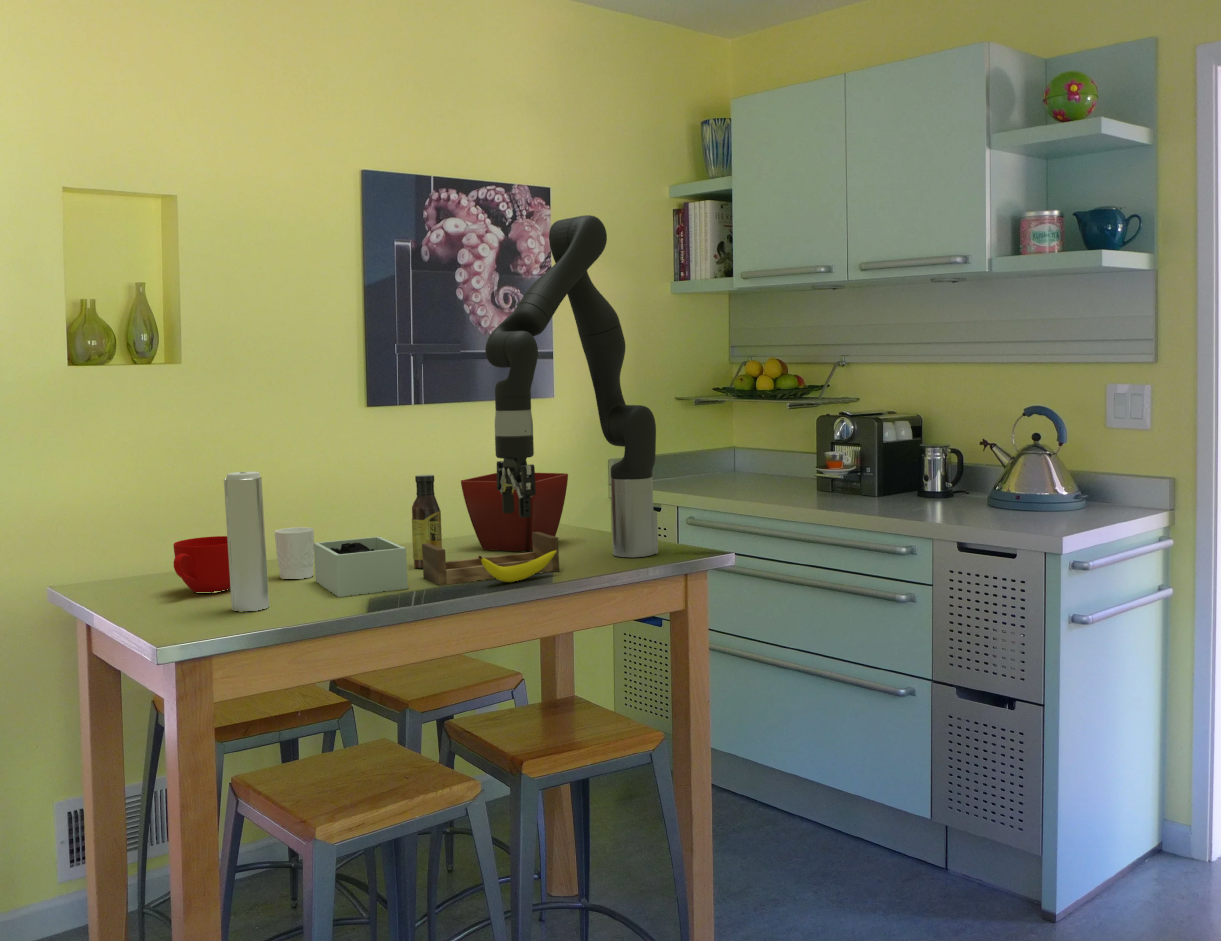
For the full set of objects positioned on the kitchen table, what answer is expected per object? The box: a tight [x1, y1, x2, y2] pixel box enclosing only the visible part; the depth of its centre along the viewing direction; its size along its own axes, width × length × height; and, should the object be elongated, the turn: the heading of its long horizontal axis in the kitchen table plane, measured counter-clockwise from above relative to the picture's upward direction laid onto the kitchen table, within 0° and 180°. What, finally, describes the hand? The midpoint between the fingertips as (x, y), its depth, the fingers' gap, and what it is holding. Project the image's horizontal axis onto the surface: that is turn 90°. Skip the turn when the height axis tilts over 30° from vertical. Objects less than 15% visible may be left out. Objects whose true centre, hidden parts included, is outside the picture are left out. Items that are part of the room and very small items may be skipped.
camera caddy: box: [314, 536, 409, 598], centre depth 224 cm, size 14×19×8 cm
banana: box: [477, 550, 557, 584], centre depth 224 cm, size 3×19×6 cm, turn 131°
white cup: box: [274, 526, 315, 580], centre depth 235 cm, size 8×8×10 cm
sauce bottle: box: [411, 474, 443, 569], centre depth 242 cm, size 7×6×20 cm
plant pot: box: [460, 472, 569, 552], centre depth 265 cm, size 19×19×17 cm
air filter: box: [223, 471, 270, 612], centre depth 204 cm, size 6×6×25 cm
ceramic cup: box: [173, 535, 231, 592], centre depth 221 cm, size 13×17×10 cm
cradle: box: [422, 532, 560, 586], centre depth 232 cm, size 26×10×7 cm, turn 117°
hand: (516, 515), depth 223 cm, fingers open, 8 cm apart
